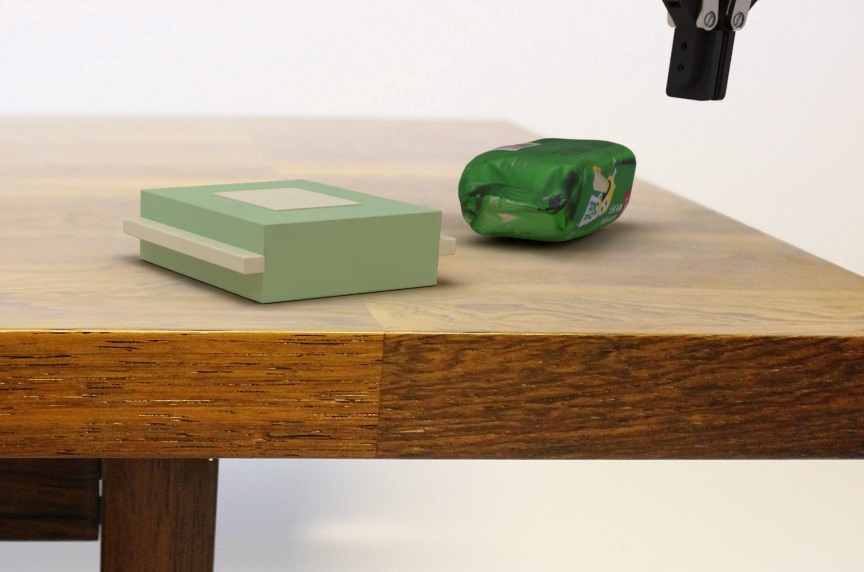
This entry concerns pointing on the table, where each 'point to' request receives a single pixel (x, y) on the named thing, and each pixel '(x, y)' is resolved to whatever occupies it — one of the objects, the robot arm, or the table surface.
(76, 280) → the table surface
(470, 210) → the snack package
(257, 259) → the green block with rails
